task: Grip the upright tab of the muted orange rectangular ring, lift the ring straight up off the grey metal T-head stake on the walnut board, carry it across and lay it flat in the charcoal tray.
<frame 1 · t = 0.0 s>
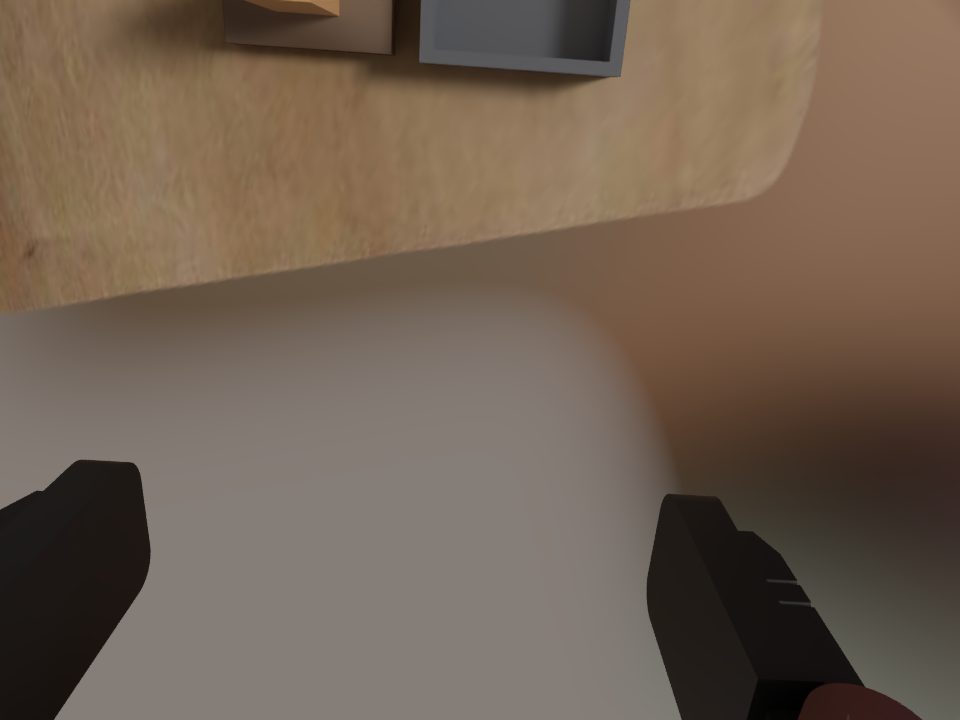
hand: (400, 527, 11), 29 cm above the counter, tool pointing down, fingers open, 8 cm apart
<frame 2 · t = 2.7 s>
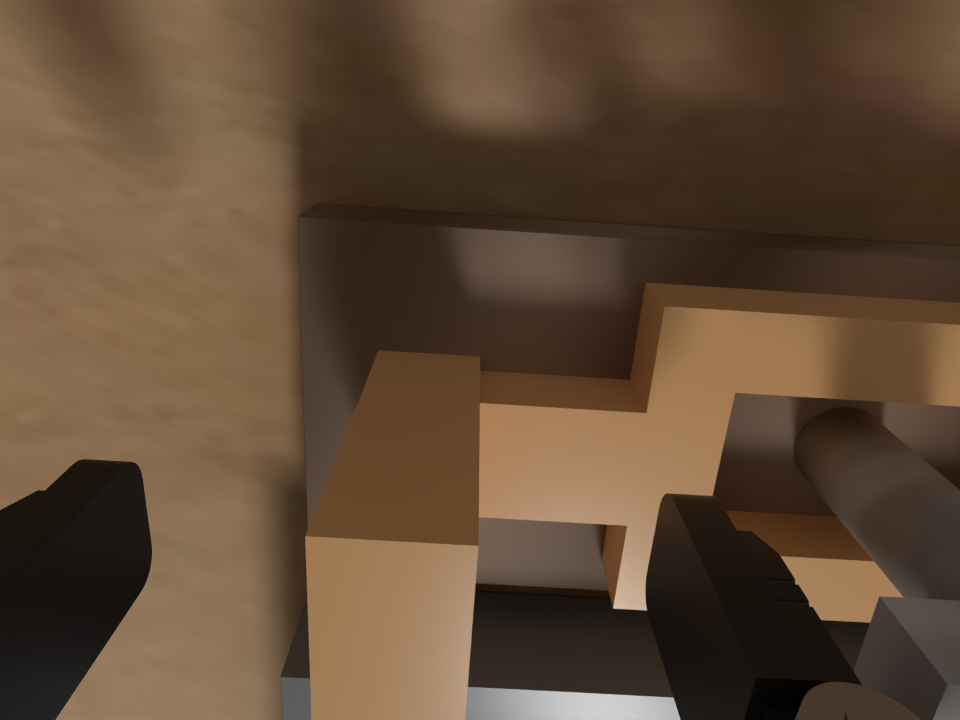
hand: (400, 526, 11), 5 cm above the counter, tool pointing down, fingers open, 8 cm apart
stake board: (675, 406, 16), on the counter
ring: (837, 446, 14), point 1 cm above the counter, touching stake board
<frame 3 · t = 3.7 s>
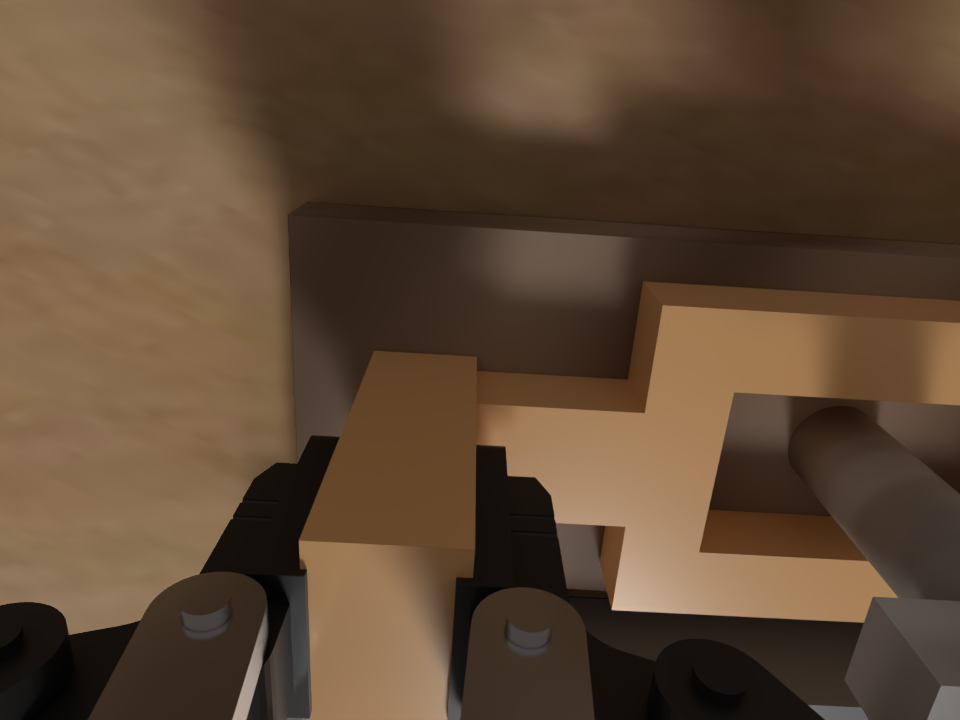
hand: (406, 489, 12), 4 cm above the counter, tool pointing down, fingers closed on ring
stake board: (669, 405, 16), on the counter
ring: (837, 445, 14), point 2 cm above the counter, touching gripper
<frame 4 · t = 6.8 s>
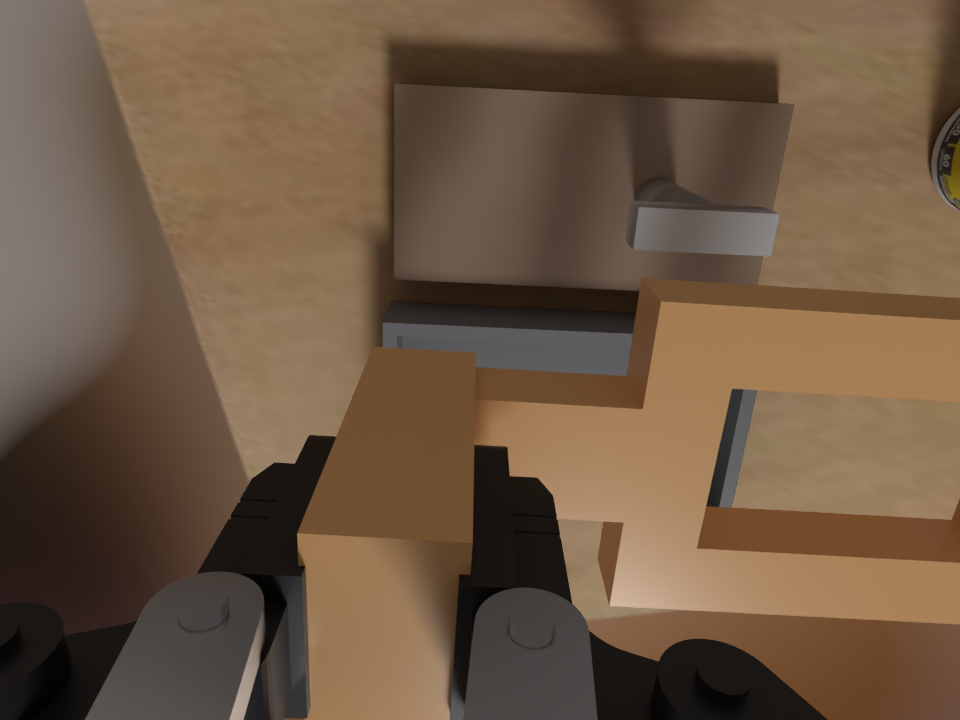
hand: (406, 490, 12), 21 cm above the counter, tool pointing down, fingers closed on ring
tray: (558, 401, 34), on the counter
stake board: (579, 190, 30), on the counter
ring: (835, 442, 14), point 18 cm above the counter, touching gripper
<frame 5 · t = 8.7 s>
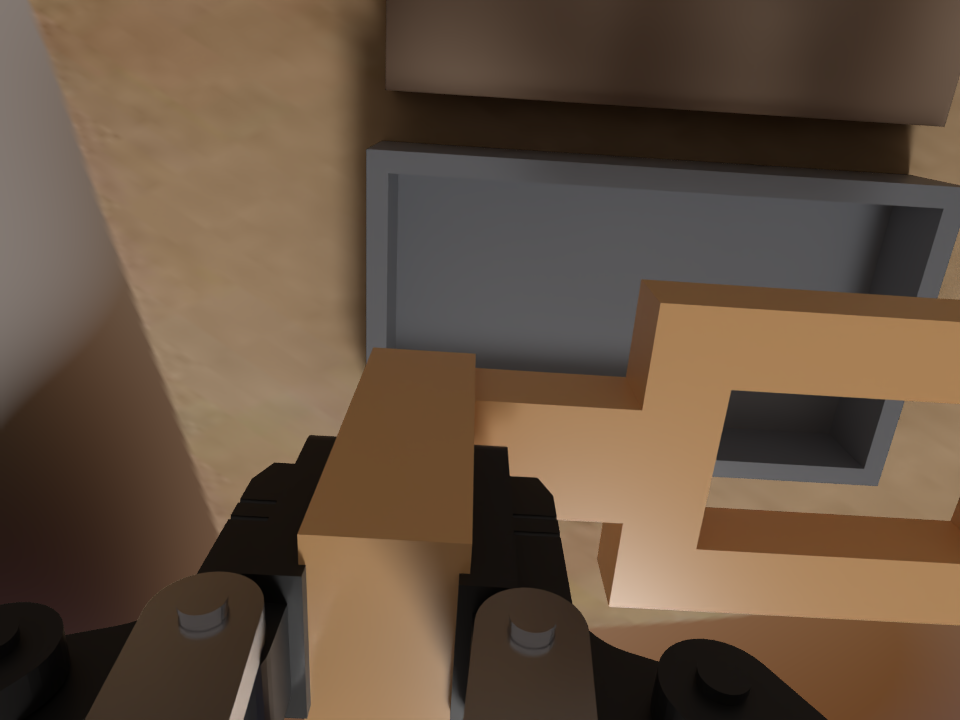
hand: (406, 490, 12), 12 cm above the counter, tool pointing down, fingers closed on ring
tray: (626, 303, 23), on the counter
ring: (834, 443, 14), point 10 cm above the counter, touching gripper
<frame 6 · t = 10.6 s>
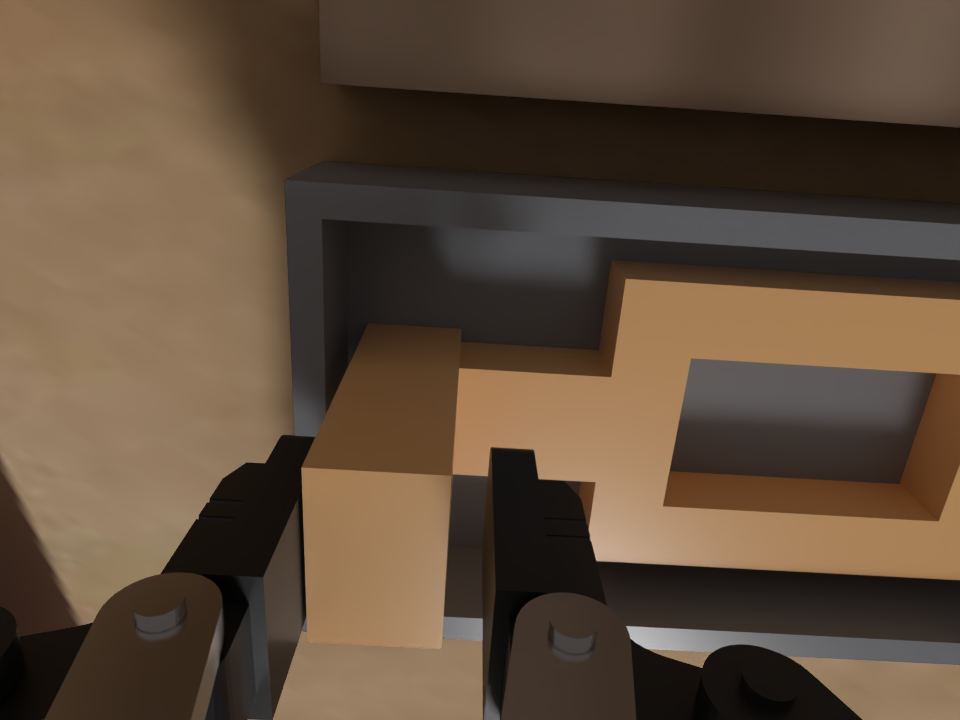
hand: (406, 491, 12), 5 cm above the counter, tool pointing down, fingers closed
tray: (684, 395, 16), on the counter
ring: (790, 411, 16), point 1 cm above the counter
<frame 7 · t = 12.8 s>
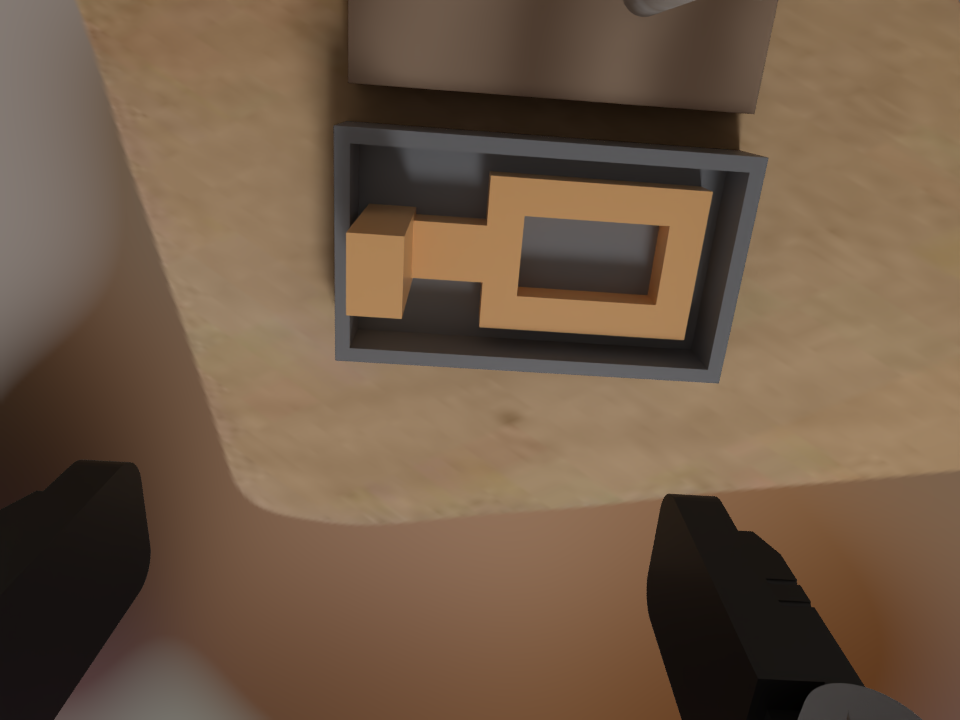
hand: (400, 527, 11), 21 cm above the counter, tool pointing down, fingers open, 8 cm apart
tray: (534, 247, 31), on the counter
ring: (586, 253, 30), point 1 cm above the counter, touching tray
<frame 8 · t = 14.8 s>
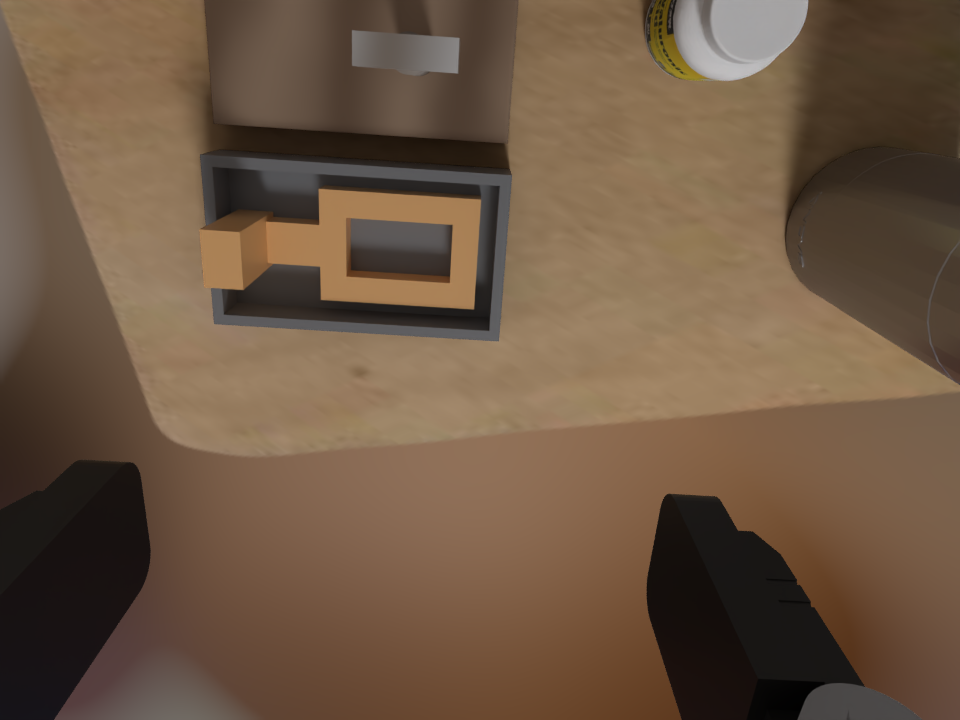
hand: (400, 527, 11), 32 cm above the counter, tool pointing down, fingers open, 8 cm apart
tray: (365, 241, 41), on the counter
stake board: (365, 54, 38), on the counter
supplement bottle: (691, 27, 37), on the counter
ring: (401, 245, 41), point 1 cm above the counter, touching tray
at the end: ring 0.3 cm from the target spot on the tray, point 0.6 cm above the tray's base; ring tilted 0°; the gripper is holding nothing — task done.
